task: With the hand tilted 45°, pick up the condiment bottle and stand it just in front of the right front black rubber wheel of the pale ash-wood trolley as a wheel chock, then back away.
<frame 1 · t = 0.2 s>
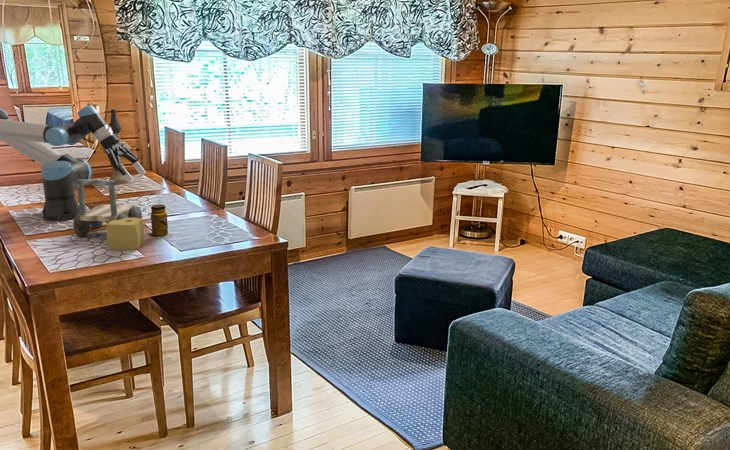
hand: (137, 177, 258), 16 cm above the table, tool tilted 35°, fingers open, 13 cm apart
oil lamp: (119, 182, 320), on the table
cheese: (127, 246, 214), on the table
trolley: (110, 231, 231), on the table
condiment: (157, 235, 229), on the table
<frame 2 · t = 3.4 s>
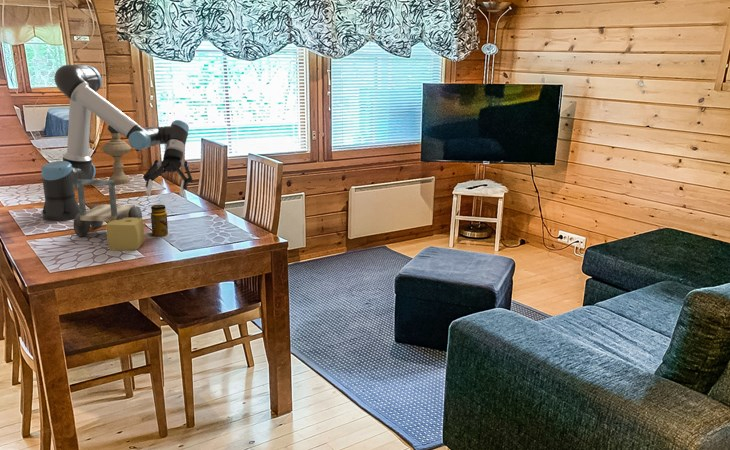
hand: (164, 195, 234), 14 cm above the table, tool tilted 45°, fingers open, 13 cm apart
nothing on the table moved.
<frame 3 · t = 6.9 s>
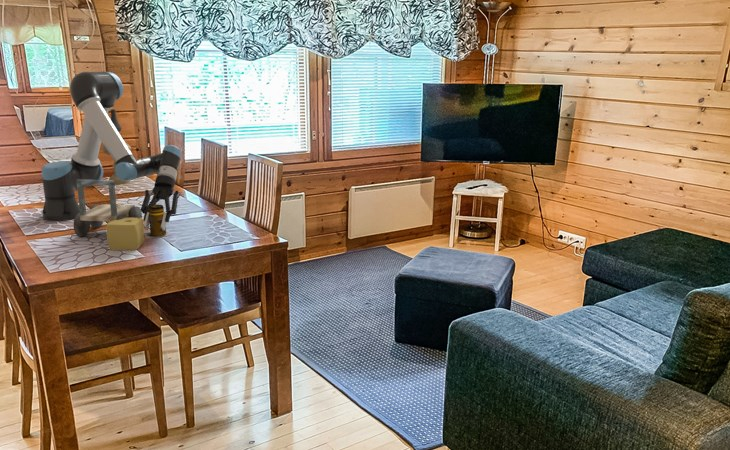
hand: (154, 228, 224), 4 cm above the table, tool tilted 45°, fingers closed on condiment, 6 cm apart
condiment: (156, 235, 229), on the table, touching gripper
everything else where it was.
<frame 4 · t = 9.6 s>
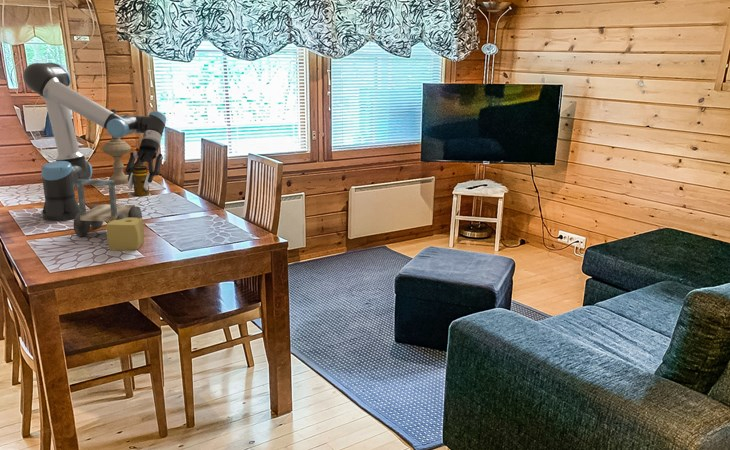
hand: (137, 188, 236), 16 cm above the table, tool tilted 45°, fingers closed on condiment, 6 cm apart
condiment: (139, 195, 241), point 12 cm above the table, touching gripper
everything else where it was.
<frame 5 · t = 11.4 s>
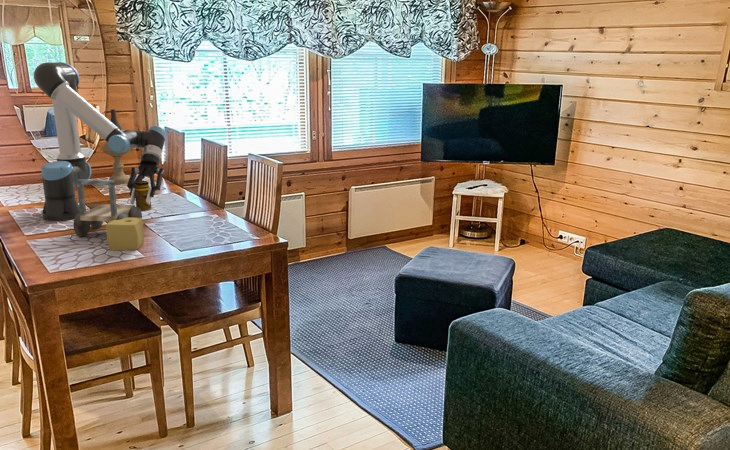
hand: (139, 203, 239), 9 cm above the table, tool tilted 45°, fingers closed on condiment, 6 cm apart
condiment: (141, 209, 244), point 5 cm above the table, touching gripper
everything else where it was.
when the fingers open (5 cm above the table, at t = 12.8 s): condiment drops 1 cm, on the table.
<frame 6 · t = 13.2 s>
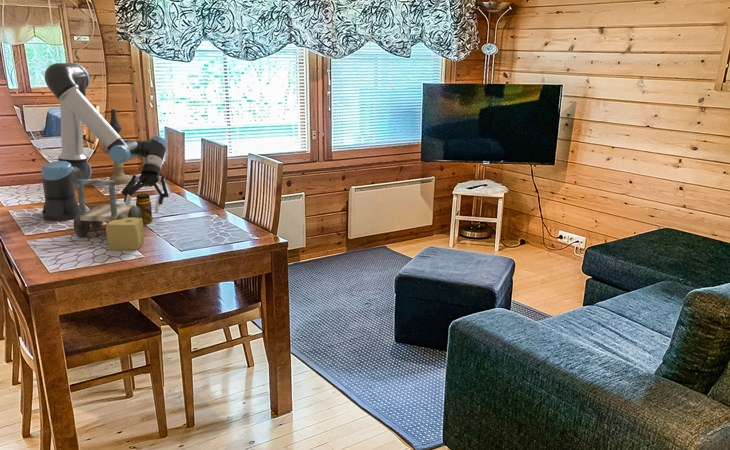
hand: (141, 209, 241), 6 cm above the table, tool tilted 45°, fingers open, 12 cm apart
condiment: (142, 222, 245), on the table
everything else where it was.
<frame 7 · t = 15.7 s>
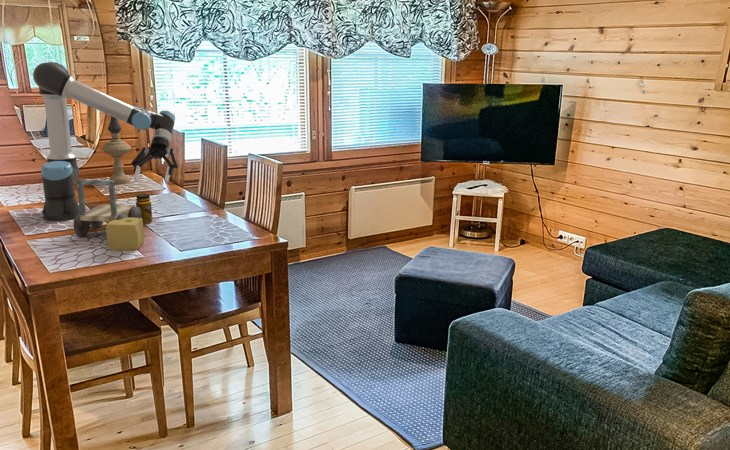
hand: (150, 179, 251), 16 cm above the table, tool tilted 45°, fingers open, 13 cm apart
nothing on the table moved.
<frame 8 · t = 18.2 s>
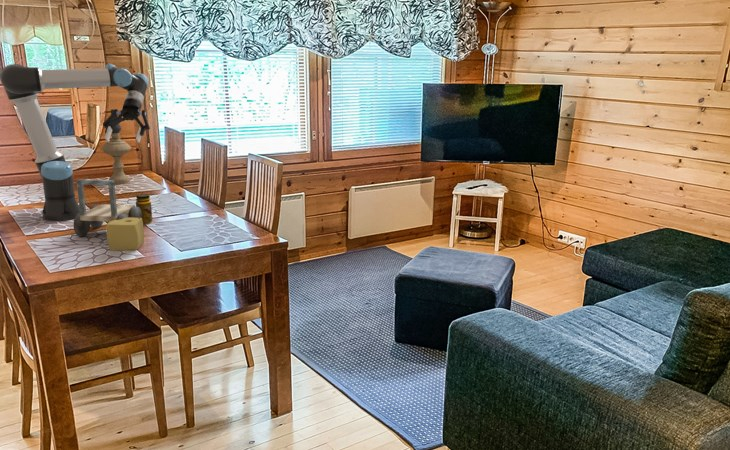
hand: (122, 140, 250), 33 cm above the table, tool tilted 45°, fingers open, 13 cm apart
nothing on the table moved.
at the end: condiment inside the target area (0.8 cm from its centre), on the table; condiment tilted 0°; the gripper is holding nothing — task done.
